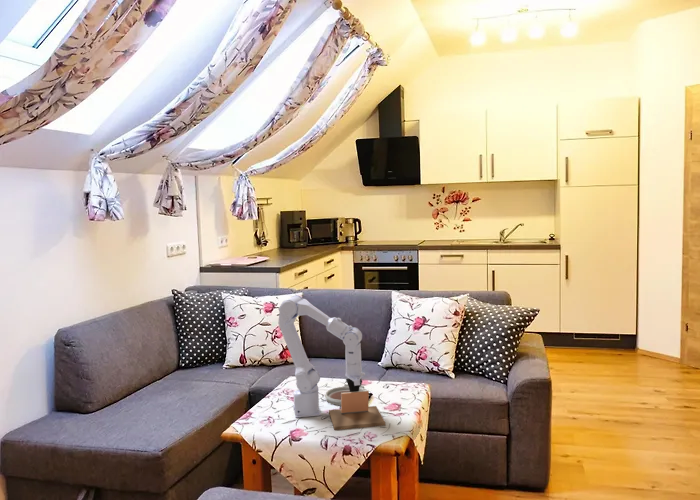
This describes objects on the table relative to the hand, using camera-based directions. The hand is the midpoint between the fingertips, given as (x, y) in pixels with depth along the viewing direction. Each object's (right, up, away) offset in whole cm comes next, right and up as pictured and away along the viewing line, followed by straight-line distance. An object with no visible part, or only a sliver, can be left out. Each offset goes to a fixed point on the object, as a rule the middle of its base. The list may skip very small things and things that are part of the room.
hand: (354, 398), depth 223 cm
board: (+1, -7, -2) cm, 7 cm away
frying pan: (-2, -5, +25) cm, 26 cm away
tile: (0, -1, 0) cm, 1 cm away
